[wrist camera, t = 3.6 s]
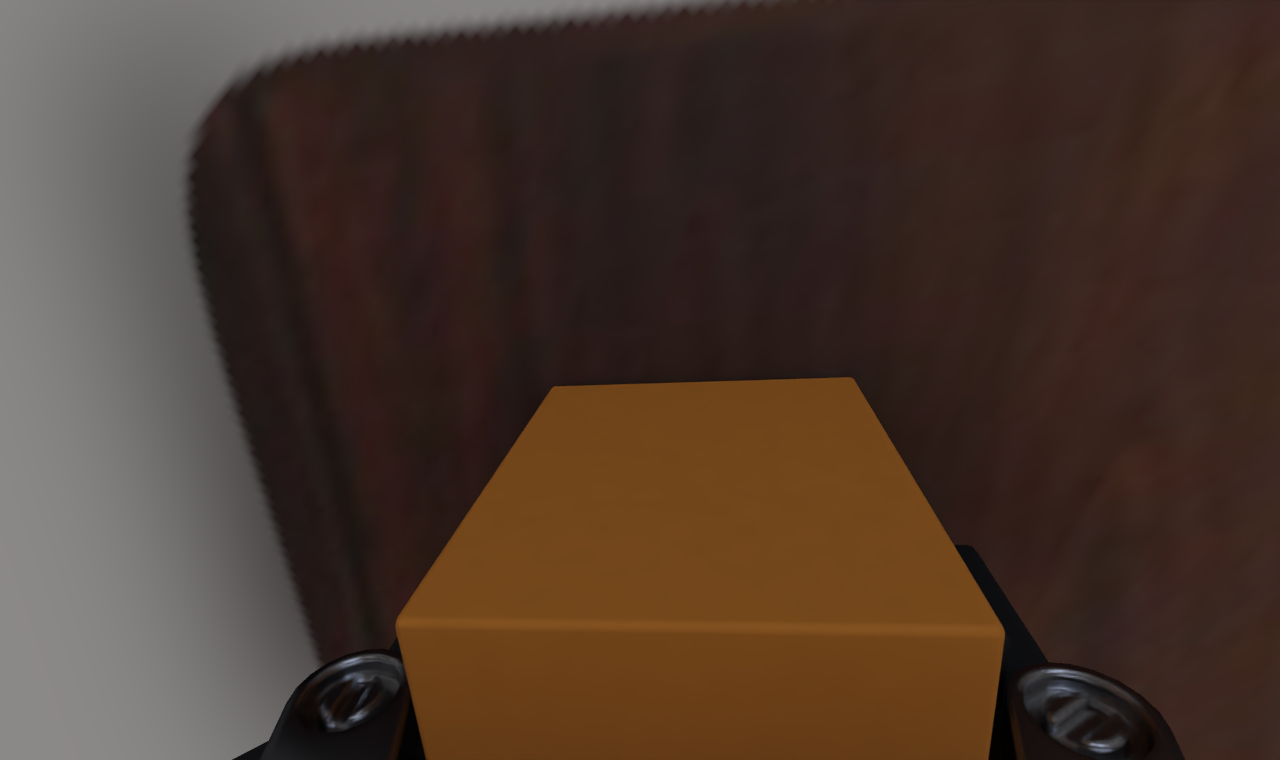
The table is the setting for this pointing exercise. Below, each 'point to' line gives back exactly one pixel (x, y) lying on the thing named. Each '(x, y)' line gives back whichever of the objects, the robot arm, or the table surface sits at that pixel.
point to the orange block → (702, 590)
